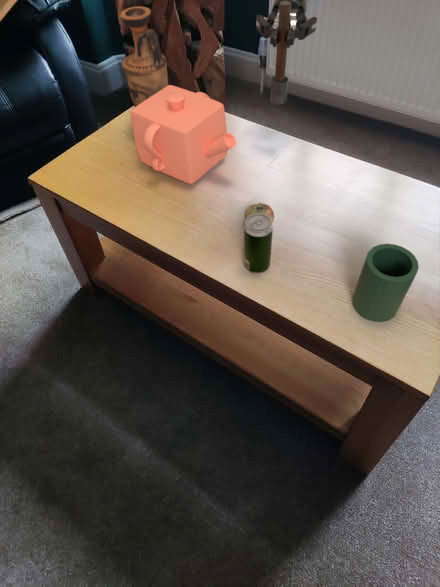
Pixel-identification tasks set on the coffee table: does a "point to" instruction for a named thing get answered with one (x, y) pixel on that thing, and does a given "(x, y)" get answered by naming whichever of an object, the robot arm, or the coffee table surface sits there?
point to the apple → (259, 211)
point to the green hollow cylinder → (384, 282)
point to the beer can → (257, 243)
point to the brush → (281, 57)
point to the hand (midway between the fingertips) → (281, 42)
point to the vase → (143, 57)
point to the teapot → (181, 133)
